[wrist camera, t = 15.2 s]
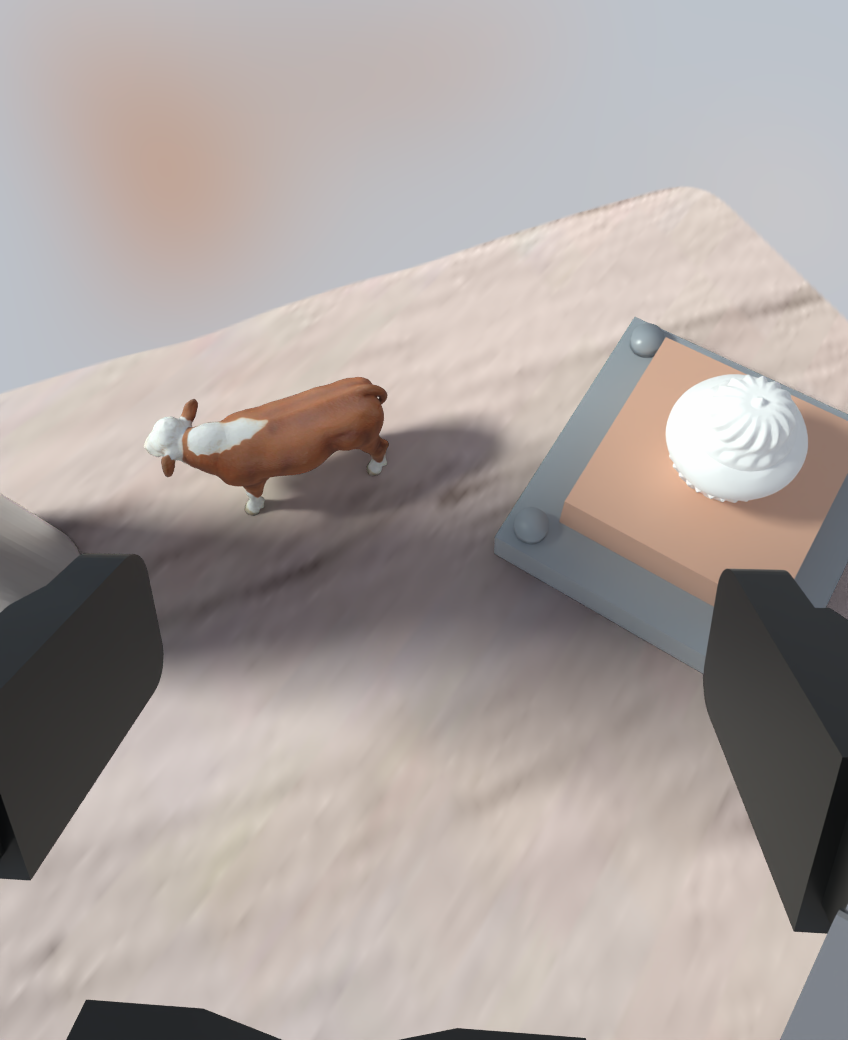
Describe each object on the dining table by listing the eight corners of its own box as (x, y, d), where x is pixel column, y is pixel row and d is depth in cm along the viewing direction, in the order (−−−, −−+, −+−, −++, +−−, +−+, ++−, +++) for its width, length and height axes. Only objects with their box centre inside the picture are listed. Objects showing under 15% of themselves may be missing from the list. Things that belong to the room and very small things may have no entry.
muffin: (748, 548, 35) (807, 492, 29) (629, 490, 37) (660, 425, 30) (797, 445, 37) (864, 370, 31) (682, 394, 39) (722, 312, 32)
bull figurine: (182, 469, 46) (122, 404, 39) (393, 418, 46) (374, 343, 39) (190, 533, 45) (129, 480, 37) (408, 480, 45) (392, 416, 37)
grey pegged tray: (494, 553, 43) (495, 517, 37) (625, 345, 47) (645, 284, 41) (759, 706, 39) (806, 691, 33) (878, 464, 43) (938, 414, 37)
